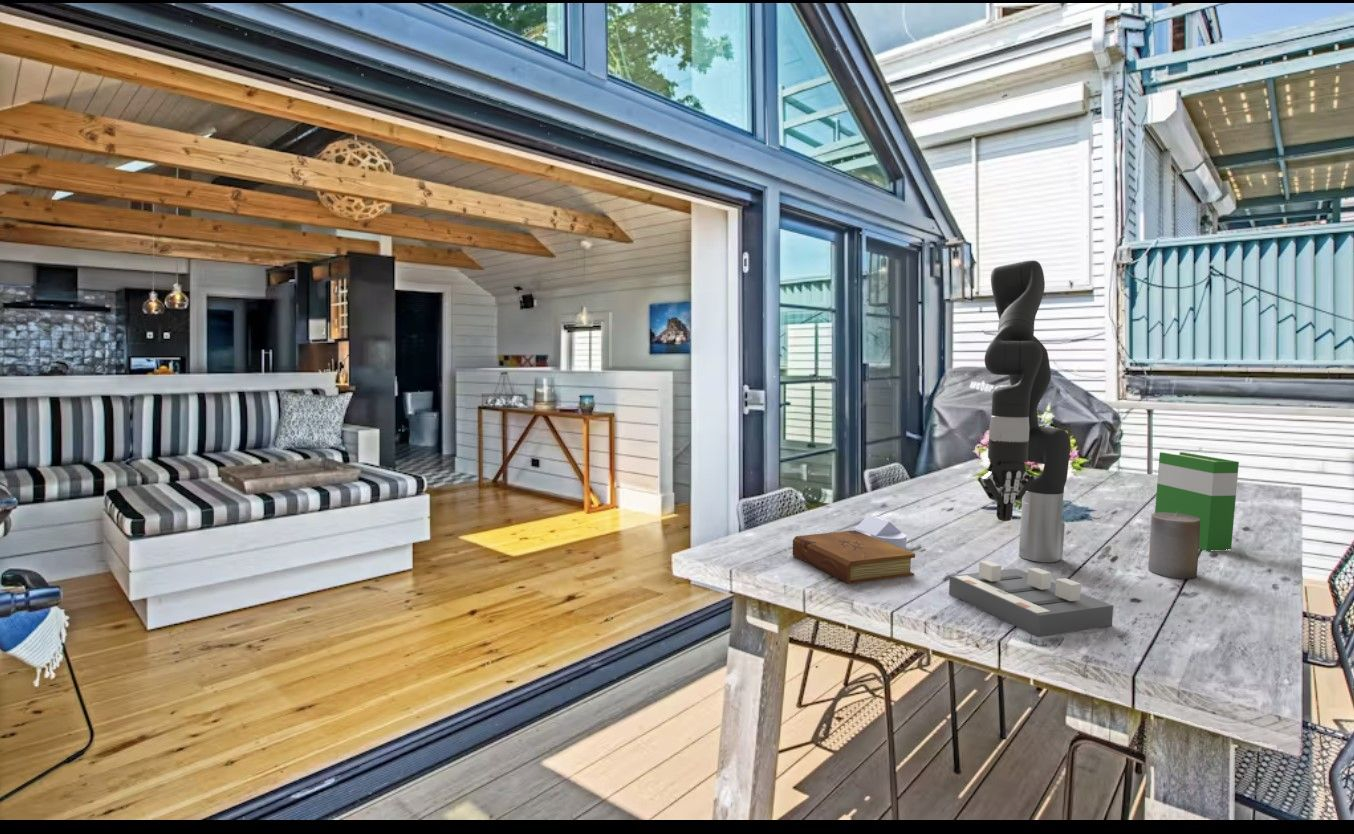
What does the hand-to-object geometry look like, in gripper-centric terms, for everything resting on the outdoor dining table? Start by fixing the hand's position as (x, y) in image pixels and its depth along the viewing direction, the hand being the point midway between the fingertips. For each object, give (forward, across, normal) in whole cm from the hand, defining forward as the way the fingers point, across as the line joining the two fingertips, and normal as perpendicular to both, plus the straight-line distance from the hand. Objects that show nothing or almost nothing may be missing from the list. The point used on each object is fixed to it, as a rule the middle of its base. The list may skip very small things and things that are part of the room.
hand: (1003, 520), depth 150 cm
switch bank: (+17, -1, +6) cm, 18 cm away
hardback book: (+17, -86, -22) cm, 91 cm away
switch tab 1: (+12, +2, 0) cm, 13 cm away
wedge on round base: (+17, -1, -43) cm, 47 cm away
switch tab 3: (+12, -4, +13) cm, 19 cm away
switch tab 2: (+12, -4, +6) cm, 14 cm away
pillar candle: (+17, -54, -3) cm, 56 cm away
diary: (+18, +18, -29) cm, 38 cm away
